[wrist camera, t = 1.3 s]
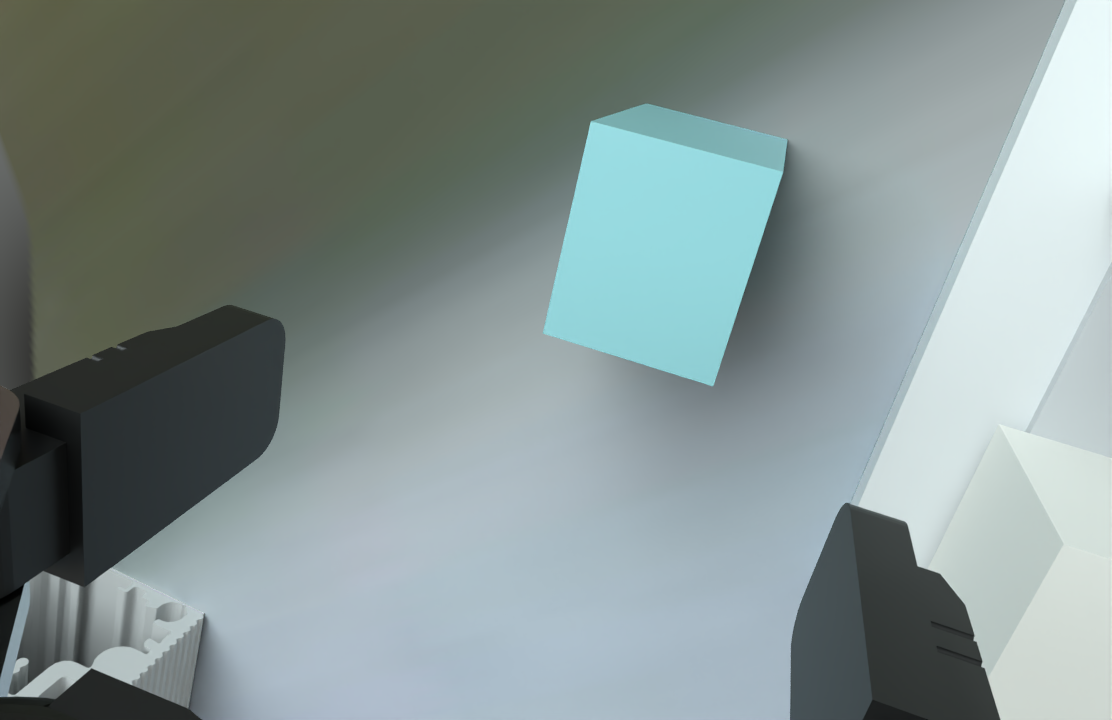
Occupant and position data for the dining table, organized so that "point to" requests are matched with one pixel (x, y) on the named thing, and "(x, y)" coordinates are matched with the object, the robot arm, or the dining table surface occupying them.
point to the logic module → (663, 237)
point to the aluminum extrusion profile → (106, 637)
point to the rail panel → (1024, 398)
